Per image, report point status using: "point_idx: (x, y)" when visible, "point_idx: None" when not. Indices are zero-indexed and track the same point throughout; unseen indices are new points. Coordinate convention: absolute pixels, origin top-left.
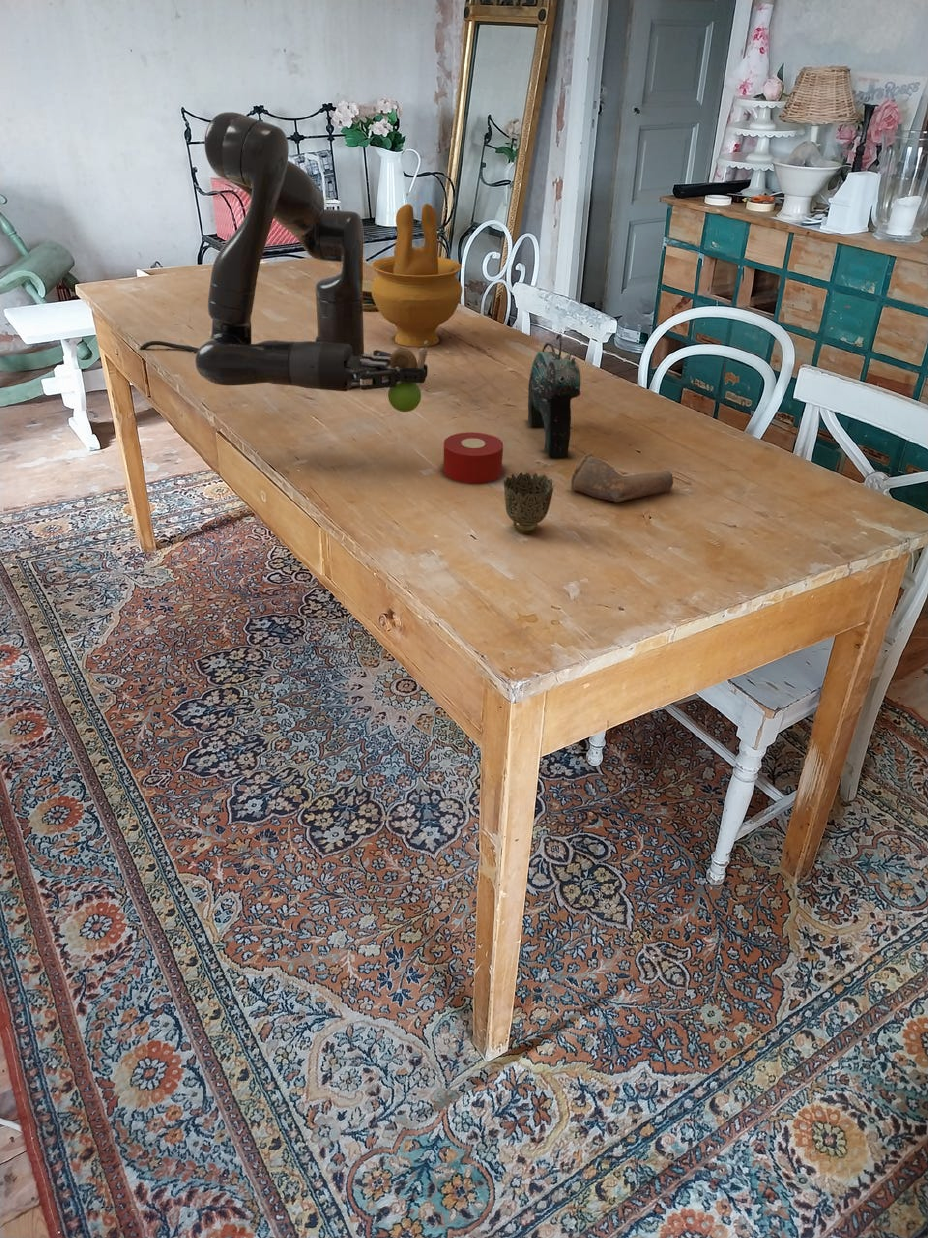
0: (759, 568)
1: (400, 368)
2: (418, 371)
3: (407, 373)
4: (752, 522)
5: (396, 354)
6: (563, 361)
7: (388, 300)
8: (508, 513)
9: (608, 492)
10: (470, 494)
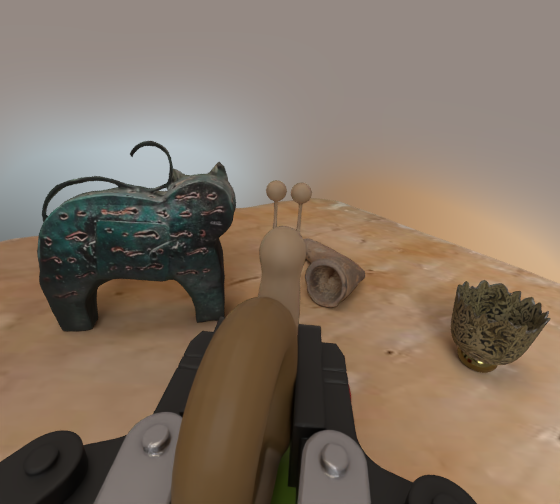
0: (424, 241)
1: (346, 438)
2: (322, 349)
3: (350, 409)
4: (351, 233)
5: (266, 409)
6: (203, 176)
7: None
8: (517, 358)
9: (360, 276)
10: (392, 437)
